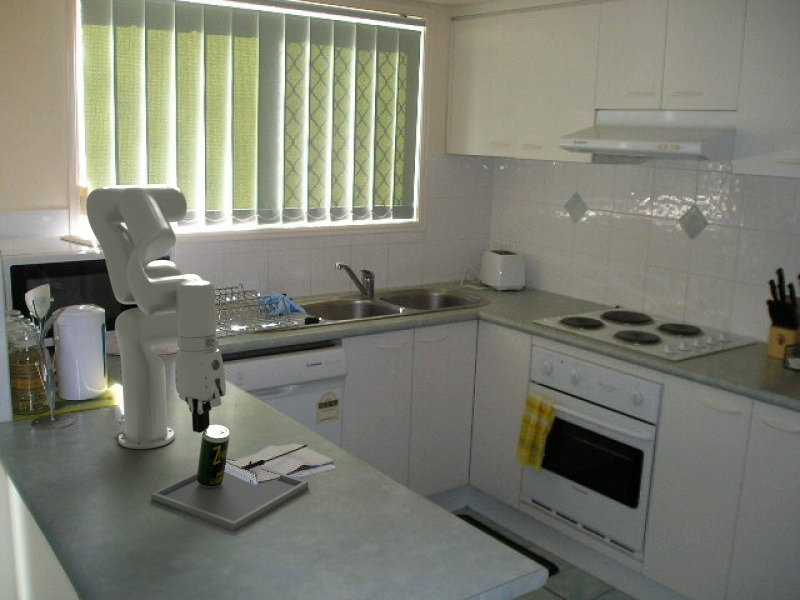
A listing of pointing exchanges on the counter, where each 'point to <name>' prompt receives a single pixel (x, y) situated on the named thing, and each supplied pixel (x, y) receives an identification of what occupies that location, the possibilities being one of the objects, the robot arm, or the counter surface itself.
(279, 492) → the grey rimmed serving tray
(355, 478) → the counter surface
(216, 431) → the beer can
